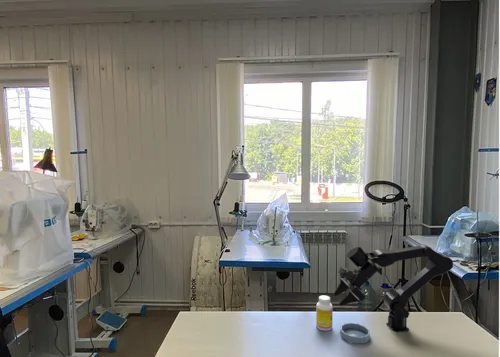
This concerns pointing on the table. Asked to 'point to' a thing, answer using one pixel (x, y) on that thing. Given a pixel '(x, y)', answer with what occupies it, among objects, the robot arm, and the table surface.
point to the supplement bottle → (324, 313)
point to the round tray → (355, 333)
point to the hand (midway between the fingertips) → (337, 299)
